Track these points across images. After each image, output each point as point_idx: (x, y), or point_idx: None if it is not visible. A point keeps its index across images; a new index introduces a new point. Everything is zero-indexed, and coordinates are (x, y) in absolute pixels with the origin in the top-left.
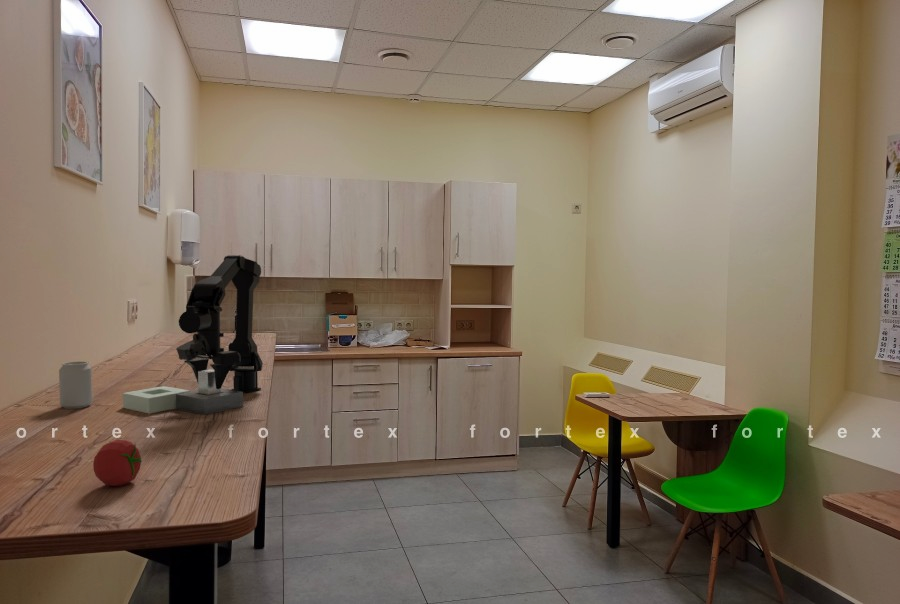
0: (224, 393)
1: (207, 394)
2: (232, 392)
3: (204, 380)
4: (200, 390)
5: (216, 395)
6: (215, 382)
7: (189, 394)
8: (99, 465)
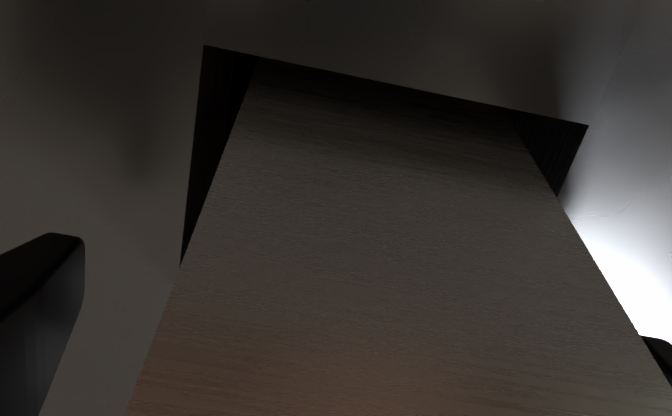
0: (97, 295)
1: (257, 104)
2: (56, 382)
3: (345, 287)
4: (481, 170)
5: (63, 124)
6: (1, 304)
7: (649, 1)
8: None
